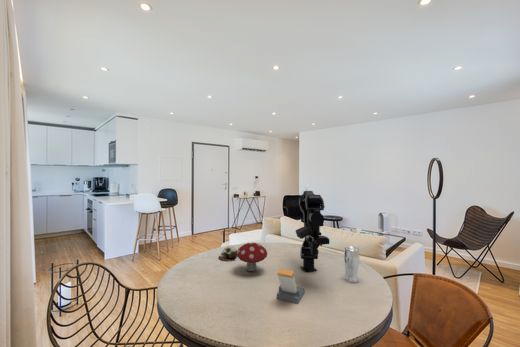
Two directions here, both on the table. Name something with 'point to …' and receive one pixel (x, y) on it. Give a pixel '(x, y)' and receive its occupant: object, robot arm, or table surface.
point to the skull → (228, 253)
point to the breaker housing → (291, 295)
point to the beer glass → (351, 263)
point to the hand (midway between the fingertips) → (313, 254)
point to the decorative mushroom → (251, 254)
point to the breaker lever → (287, 281)
